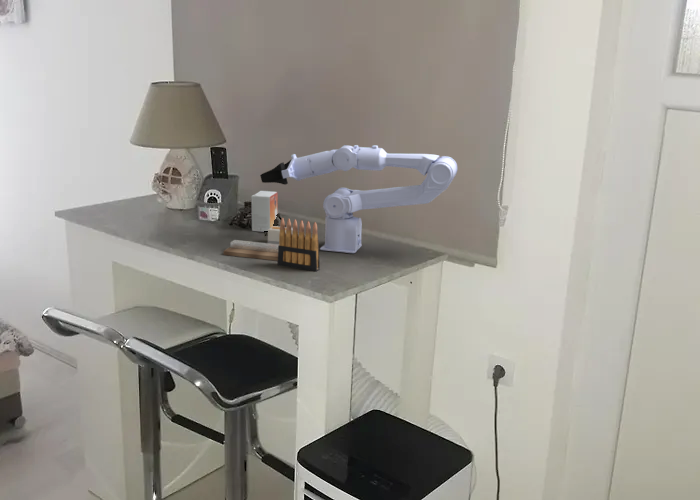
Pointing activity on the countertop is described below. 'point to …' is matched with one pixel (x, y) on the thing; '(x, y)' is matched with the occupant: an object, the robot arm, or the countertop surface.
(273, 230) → the block
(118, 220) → the countertop surface
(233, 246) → the rail
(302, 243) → the ammunition clip
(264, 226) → the small box
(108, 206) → the countertop surface
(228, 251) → the board
